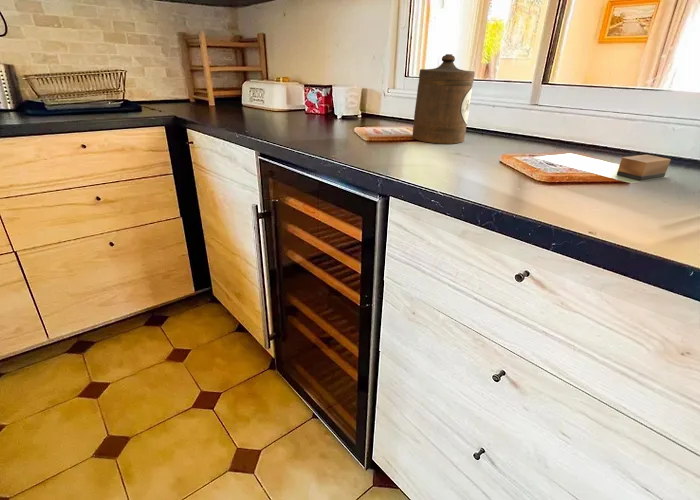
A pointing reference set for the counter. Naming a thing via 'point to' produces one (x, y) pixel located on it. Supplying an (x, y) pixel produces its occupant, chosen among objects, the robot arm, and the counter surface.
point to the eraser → (643, 167)
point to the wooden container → (442, 103)
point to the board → (588, 165)
